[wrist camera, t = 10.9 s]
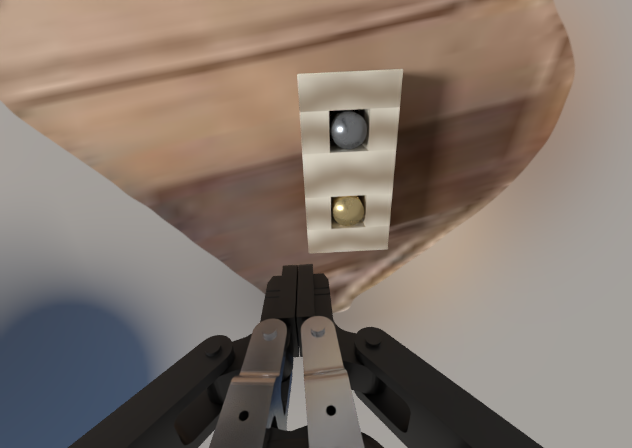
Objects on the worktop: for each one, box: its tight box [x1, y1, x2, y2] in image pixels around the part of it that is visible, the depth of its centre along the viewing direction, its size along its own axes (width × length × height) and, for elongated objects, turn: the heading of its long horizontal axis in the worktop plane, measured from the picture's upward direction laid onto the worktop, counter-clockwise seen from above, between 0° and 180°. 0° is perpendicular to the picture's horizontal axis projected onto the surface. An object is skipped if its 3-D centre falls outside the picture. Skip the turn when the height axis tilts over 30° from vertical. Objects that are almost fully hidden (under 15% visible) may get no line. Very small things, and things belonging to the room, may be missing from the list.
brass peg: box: [331, 195, 364, 226], centre depth 42 cm, size 4×4×7 cm
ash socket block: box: [297, 69, 403, 253], centre depth 40 cm, size 24×12×8 cm, turn 2°
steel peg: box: [329, 110, 367, 149], centre depth 37 cm, size 4×4×7 cm
